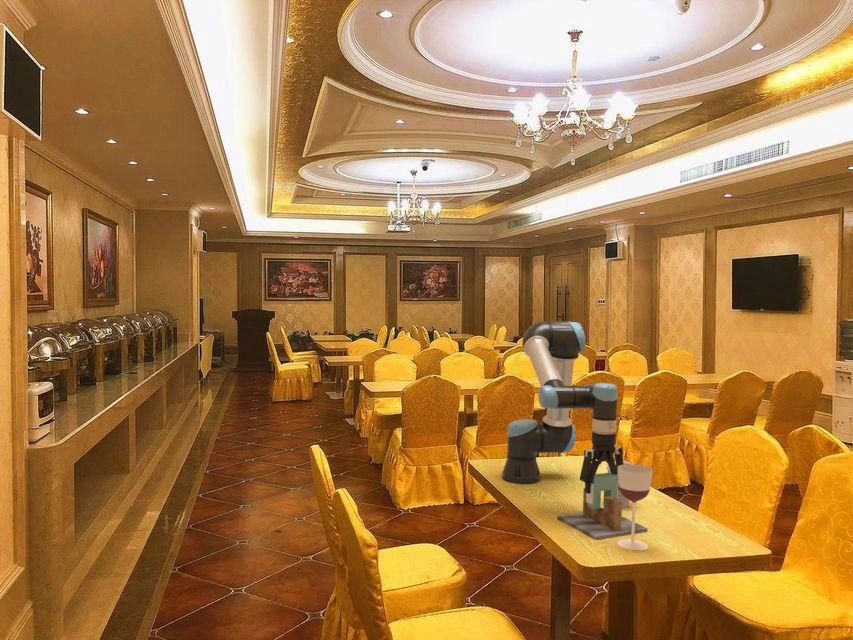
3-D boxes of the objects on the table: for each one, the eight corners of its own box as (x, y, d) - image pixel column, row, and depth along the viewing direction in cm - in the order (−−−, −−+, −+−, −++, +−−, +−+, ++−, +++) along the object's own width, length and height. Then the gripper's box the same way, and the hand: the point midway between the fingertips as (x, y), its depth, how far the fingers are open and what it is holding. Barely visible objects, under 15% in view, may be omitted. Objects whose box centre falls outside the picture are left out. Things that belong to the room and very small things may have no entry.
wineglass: (610, 539, 199) (612, 464, 198) (642, 538, 200) (644, 464, 199) (622, 550, 190) (624, 472, 189) (655, 550, 191) (658, 472, 190)
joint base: (557, 518, 216) (558, 488, 216) (606, 511, 224) (606, 482, 224) (595, 539, 198) (596, 507, 197) (647, 531, 206) (648, 500, 205)
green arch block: (587, 505, 210) (588, 475, 210) (609, 502, 214) (610, 472, 214) (594, 509, 207) (594, 477, 207) (616, 505, 211) (617, 475, 211)
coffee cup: (634, 510, 226) (636, 467, 225) (606, 508, 228) (607, 465, 227) (631, 502, 235) (633, 461, 235) (604, 500, 237) (605, 459, 237)
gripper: (583, 436, 202) (581, 508, 203) (638, 432, 211) (636, 501, 212) (568, 431, 209) (567, 501, 210) (623, 427, 218) (621, 494, 218)
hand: (602, 501), depth 211 cm, fingers closed on green arch block, 9 cm apart
